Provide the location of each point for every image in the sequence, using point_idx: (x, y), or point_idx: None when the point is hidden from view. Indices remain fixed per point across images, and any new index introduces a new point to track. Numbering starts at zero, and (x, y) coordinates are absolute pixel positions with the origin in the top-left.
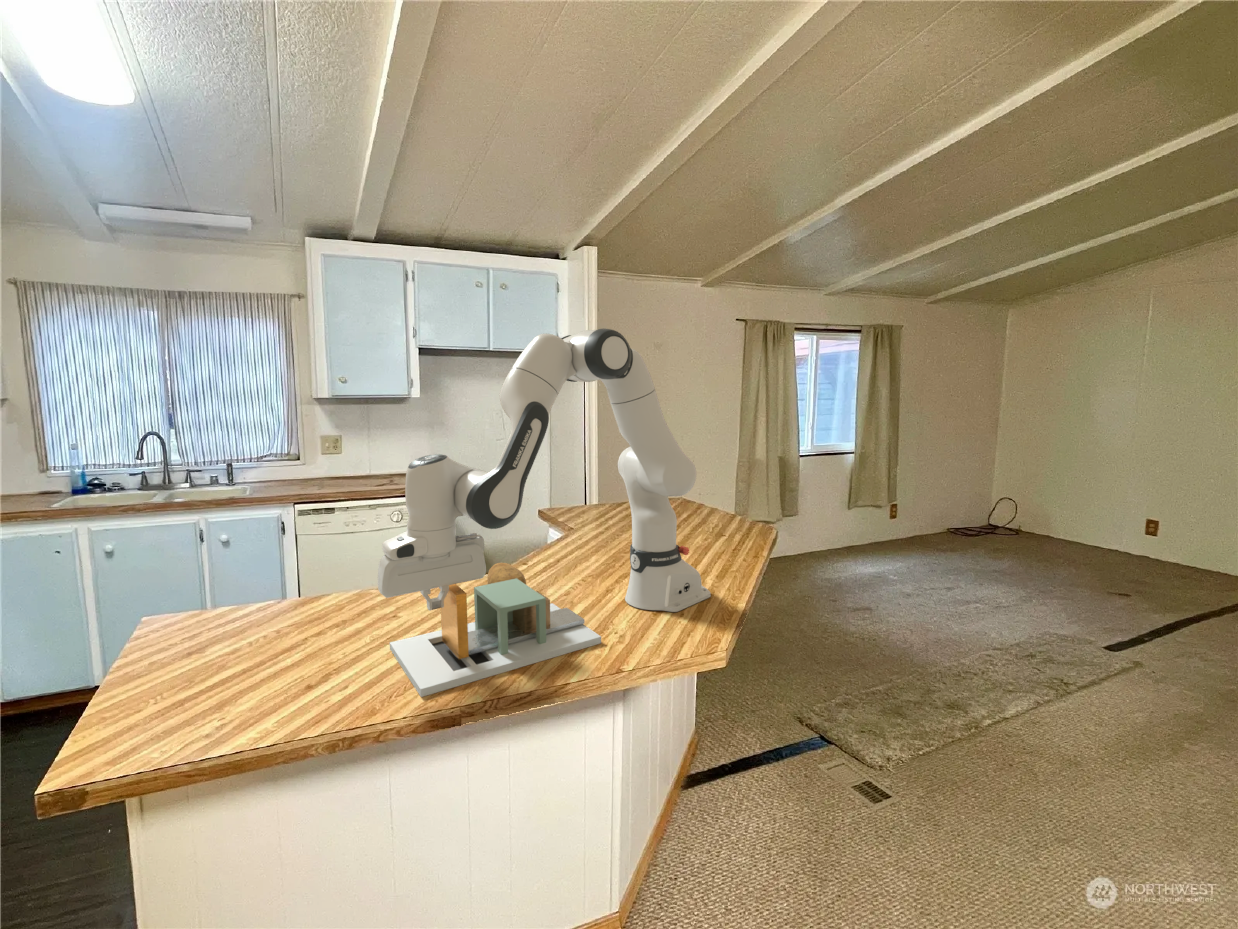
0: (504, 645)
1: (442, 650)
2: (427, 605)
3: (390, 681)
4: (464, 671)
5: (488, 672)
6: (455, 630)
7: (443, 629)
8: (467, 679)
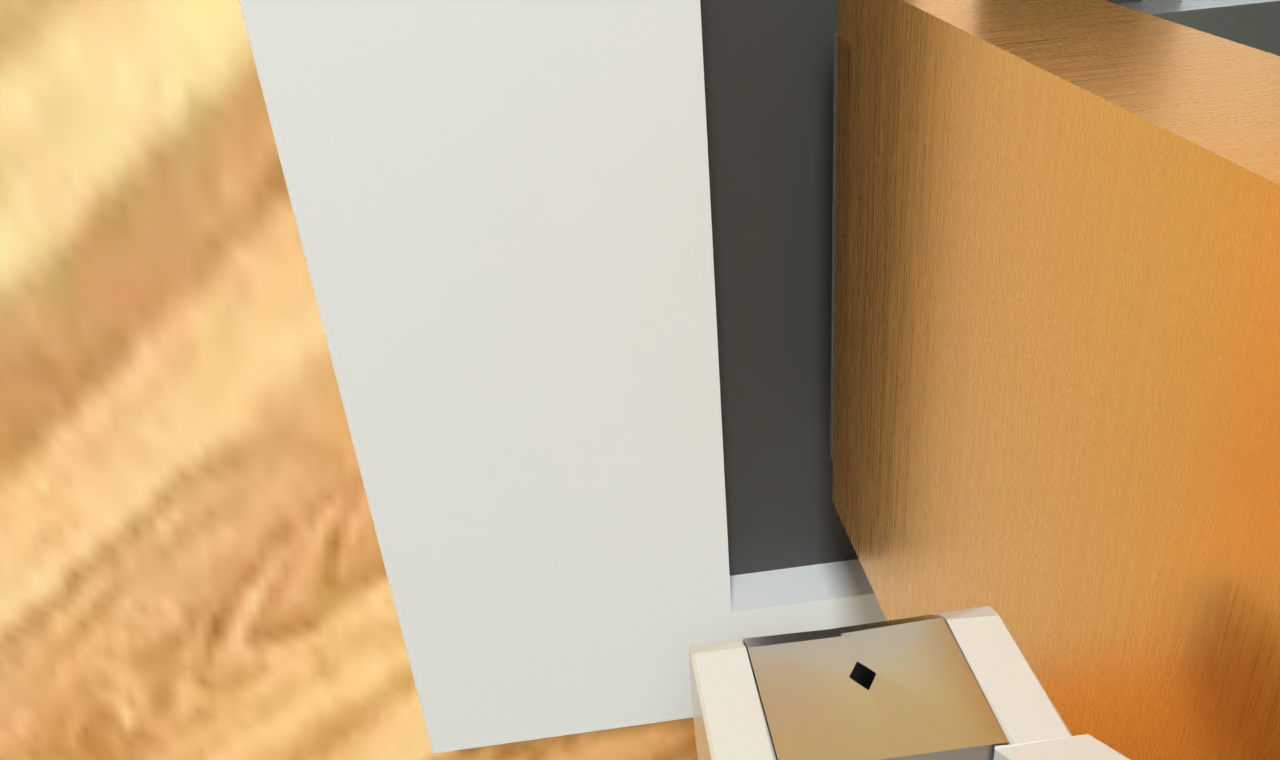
0: None
1: (789, 28)
2: (699, 716)
3: (203, 409)
4: None
5: None
6: None
7: (892, 95)
8: None
